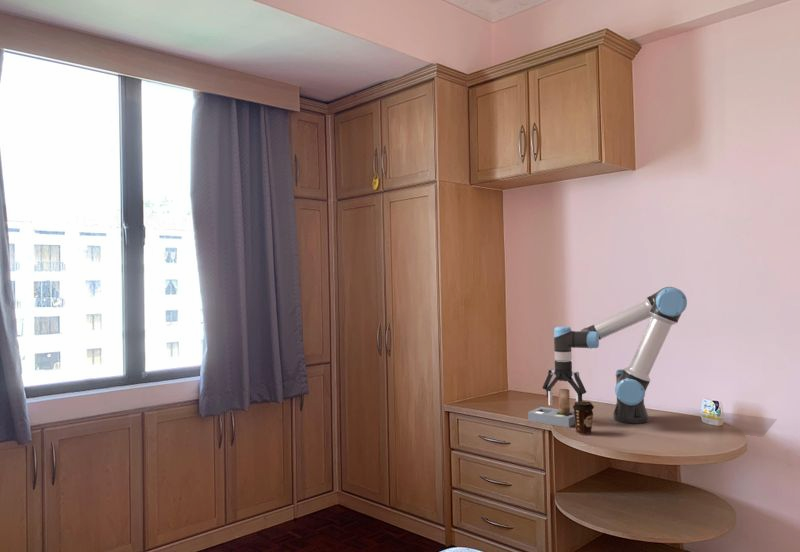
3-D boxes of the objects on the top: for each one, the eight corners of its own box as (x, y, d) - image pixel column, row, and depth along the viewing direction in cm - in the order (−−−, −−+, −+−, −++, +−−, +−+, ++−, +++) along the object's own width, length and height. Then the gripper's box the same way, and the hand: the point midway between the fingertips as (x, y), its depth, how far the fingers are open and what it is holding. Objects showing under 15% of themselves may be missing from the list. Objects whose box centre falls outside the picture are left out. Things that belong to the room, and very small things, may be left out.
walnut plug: (571, 422, 264) (570, 389, 264) (567, 424, 261) (566, 391, 261) (562, 420, 267) (561, 388, 267) (557, 422, 264) (557, 390, 264)
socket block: (541, 414, 279) (541, 406, 279) (581, 421, 266) (580, 412, 266) (528, 420, 269) (528, 411, 269) (568, 427, 256) (568, 418, 256)
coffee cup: (596, 431, 248) (596, 401, 248) (592, 436, 241) (591, 405, 241) (576, 429, 252) (575, 399, 252) (571, 434, 245) (570, 403, 245)
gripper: (592, 361, 258) (594, 408, 259) (542, 357, 275) (543, 401, 275) (586, 363, 253) (587, 412, 253) (534, 359, 269) (535, 404, 269)
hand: (564, 406), depth 264 cm, fingers open, 13 cm apart
